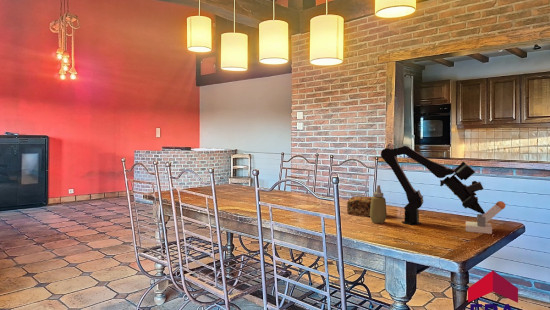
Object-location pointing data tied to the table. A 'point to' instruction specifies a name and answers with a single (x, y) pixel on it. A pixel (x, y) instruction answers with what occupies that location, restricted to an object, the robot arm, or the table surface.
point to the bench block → (479, 225)
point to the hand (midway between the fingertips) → (484, 213)
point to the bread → (359, 205)
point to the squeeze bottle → (378, 207)
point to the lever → (493, 211)
